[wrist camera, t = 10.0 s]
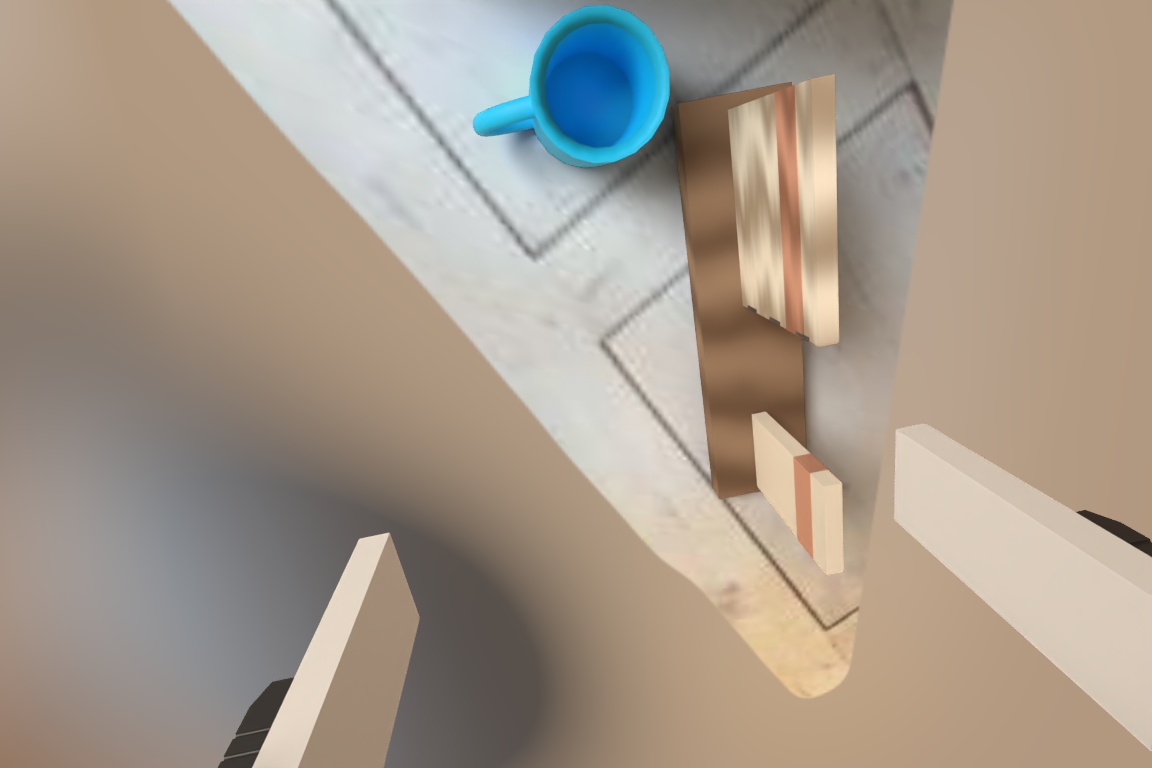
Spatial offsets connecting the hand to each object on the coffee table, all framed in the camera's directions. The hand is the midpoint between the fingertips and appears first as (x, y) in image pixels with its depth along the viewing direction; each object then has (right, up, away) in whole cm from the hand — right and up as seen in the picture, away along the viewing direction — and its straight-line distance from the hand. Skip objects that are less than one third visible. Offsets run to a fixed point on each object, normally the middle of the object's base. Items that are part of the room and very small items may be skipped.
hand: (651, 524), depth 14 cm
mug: (-3, +23, +26) cm, 35 cm away
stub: (+14, -2, +34) cm, 36 cm away
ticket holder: (+12, +10, +31) cm, 35 cm away
